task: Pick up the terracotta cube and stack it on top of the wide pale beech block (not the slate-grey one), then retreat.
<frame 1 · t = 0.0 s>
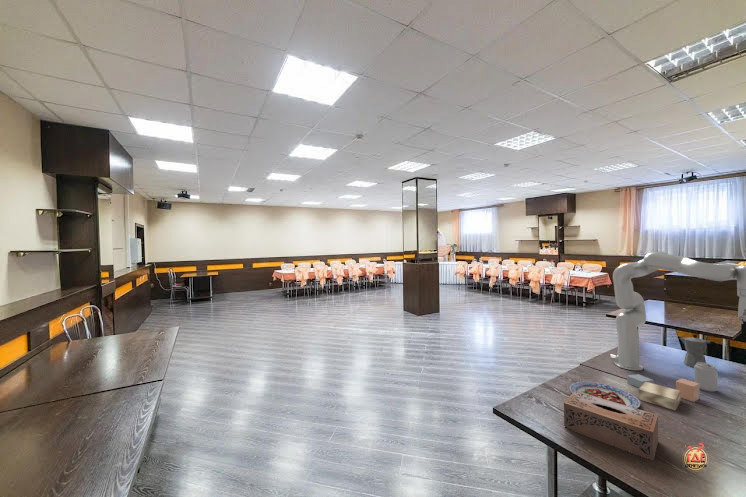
slate block: (640, 385, 151), on the table
ceramic plate: (603, 399, 139), on the table
tissue box cover: (609, 435, 114), on the table
can: (705, 389, 146), on the table
beech block: (659, 400, 137), on the table
coffeepot: (698, 366, 171), on the table
terracotta cube: (687, 397, 138), on the table
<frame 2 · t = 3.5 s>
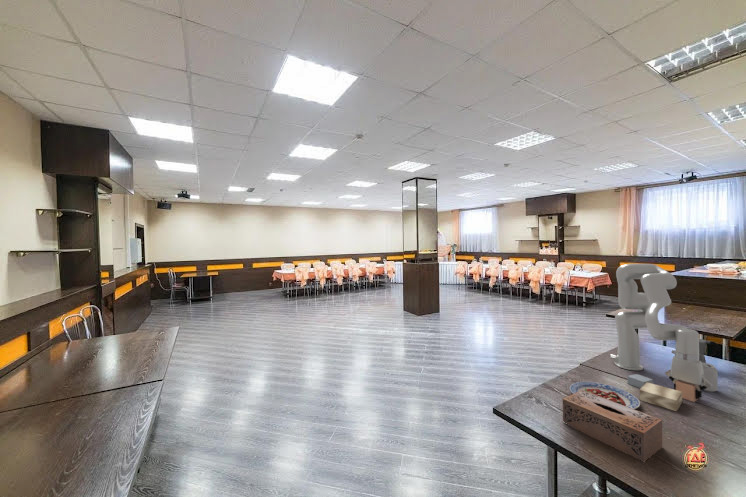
hand: (687, 394, 138), 1 cm above the table, tool pointing down, fingers closed on terracotta cube, 6 cm apart
terracotta cube: (687, 397, 138), on the table, touching gripper
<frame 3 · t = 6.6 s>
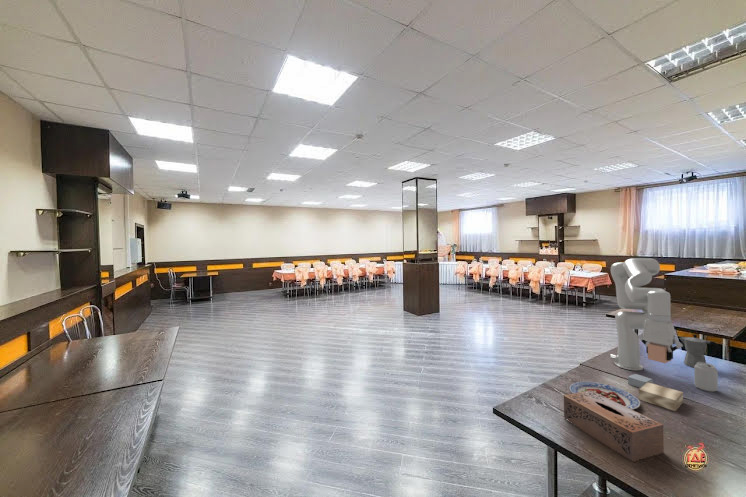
hand: (659, 357, 136), 20 cm above the table, tool pointing down, fingers closed on terracotta cube, 6 cm apart
terracotta cube: (659, 359, 136), point 18 cm above the table, touching gripper
when the fingers open (6 cm above the table, at t = 9.8 s): terracotta cube stays where it is, resting on beech block.
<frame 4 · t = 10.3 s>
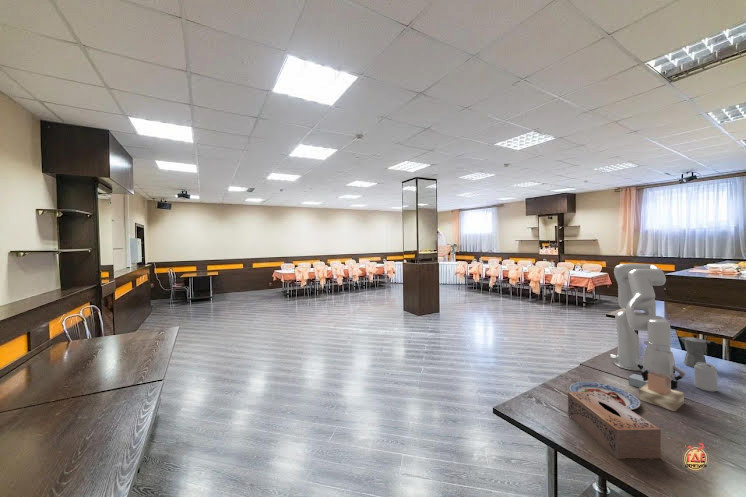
hand: (659, 384, 137), 7 cm above the table, tool pointing down, fingers open, 9 cm apart
beech block: (661, 402, 136), on the table, touching terracotta cube
terracotta cube: (659, 390, 136), point 5 cm above the table, touching beech block
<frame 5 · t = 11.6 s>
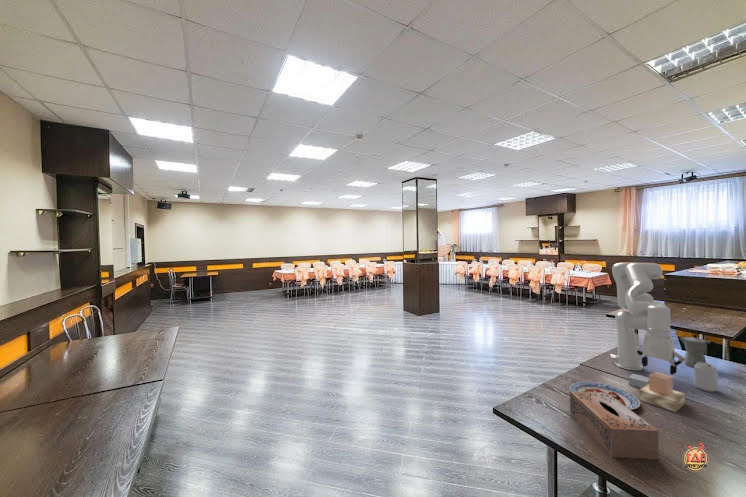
hand: (658, 369, 137), 14 cm above the table, tool pointing down, fingers open, 9 cm apart
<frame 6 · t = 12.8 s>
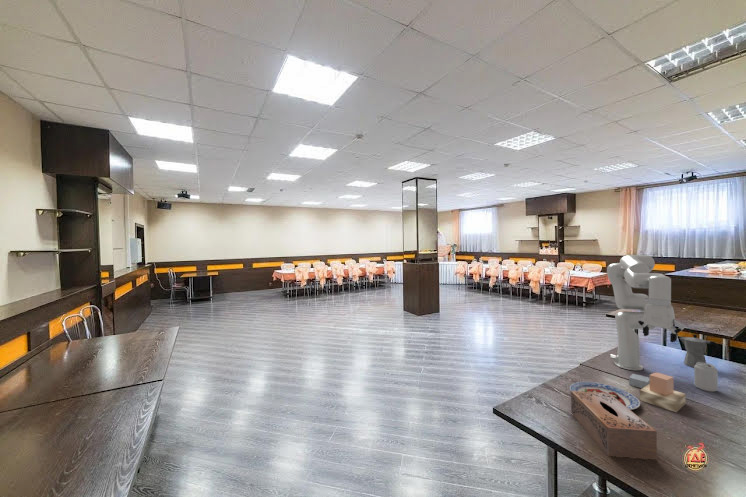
hand: (659, 338, 141), 27 cm above the table, tool pointing down, fingers open, 9 cm apart
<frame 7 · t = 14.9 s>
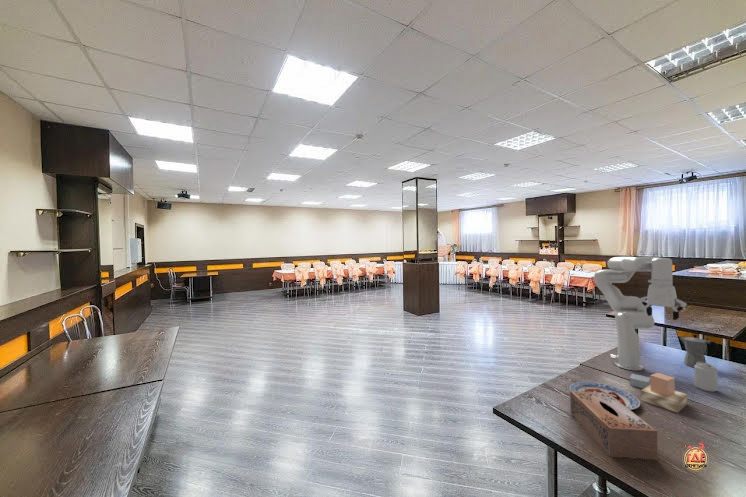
hand: (662, 317, 149), 34 cm above the table, tool pointing down, fingers open, 9 cm apart
at the end: terracotta cube inside the target area on the beech block (0.4 cm from its centre), point 5.0 cm above the beech block's base; terracotta cube tilted 0°; beech block moved 2.0 cm from its start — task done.
